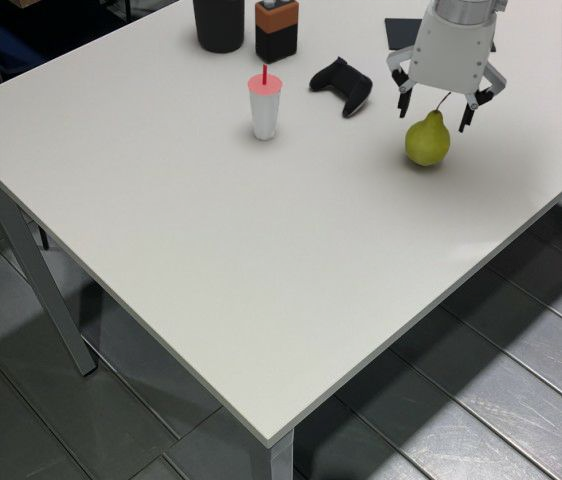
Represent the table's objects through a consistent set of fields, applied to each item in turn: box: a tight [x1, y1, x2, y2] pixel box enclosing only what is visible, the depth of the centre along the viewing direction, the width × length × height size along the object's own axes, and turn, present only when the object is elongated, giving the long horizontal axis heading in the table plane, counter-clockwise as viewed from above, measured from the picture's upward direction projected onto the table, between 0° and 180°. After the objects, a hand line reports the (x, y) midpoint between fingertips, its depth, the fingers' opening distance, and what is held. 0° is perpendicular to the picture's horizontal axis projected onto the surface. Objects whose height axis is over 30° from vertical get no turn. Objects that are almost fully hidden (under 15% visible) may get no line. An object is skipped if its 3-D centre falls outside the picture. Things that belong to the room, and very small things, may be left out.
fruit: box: [404, 91, 452, 167], centre depth 95 cm, size 7×7×12 cm
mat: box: [384, 17, 497, 53], centre depth 118 cm, size 20×10×1 cm, turn 90°
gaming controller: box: [308, 55, 374, 118], centre depth 107 cm, size 11×4×7 cm
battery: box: [254, 0, 300, 64], centre depth 110 cm, size 4×7×10 cm, turn 125°
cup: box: [247, 64, 283, 141], centre depth 98 cm, size 5×5×12 cm
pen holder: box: [192, 0, 246, 54], centre depth 112 cm, size 9×9×10 cm
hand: (432, 119), depth 94 cm, fingers open, 8 cm apart
